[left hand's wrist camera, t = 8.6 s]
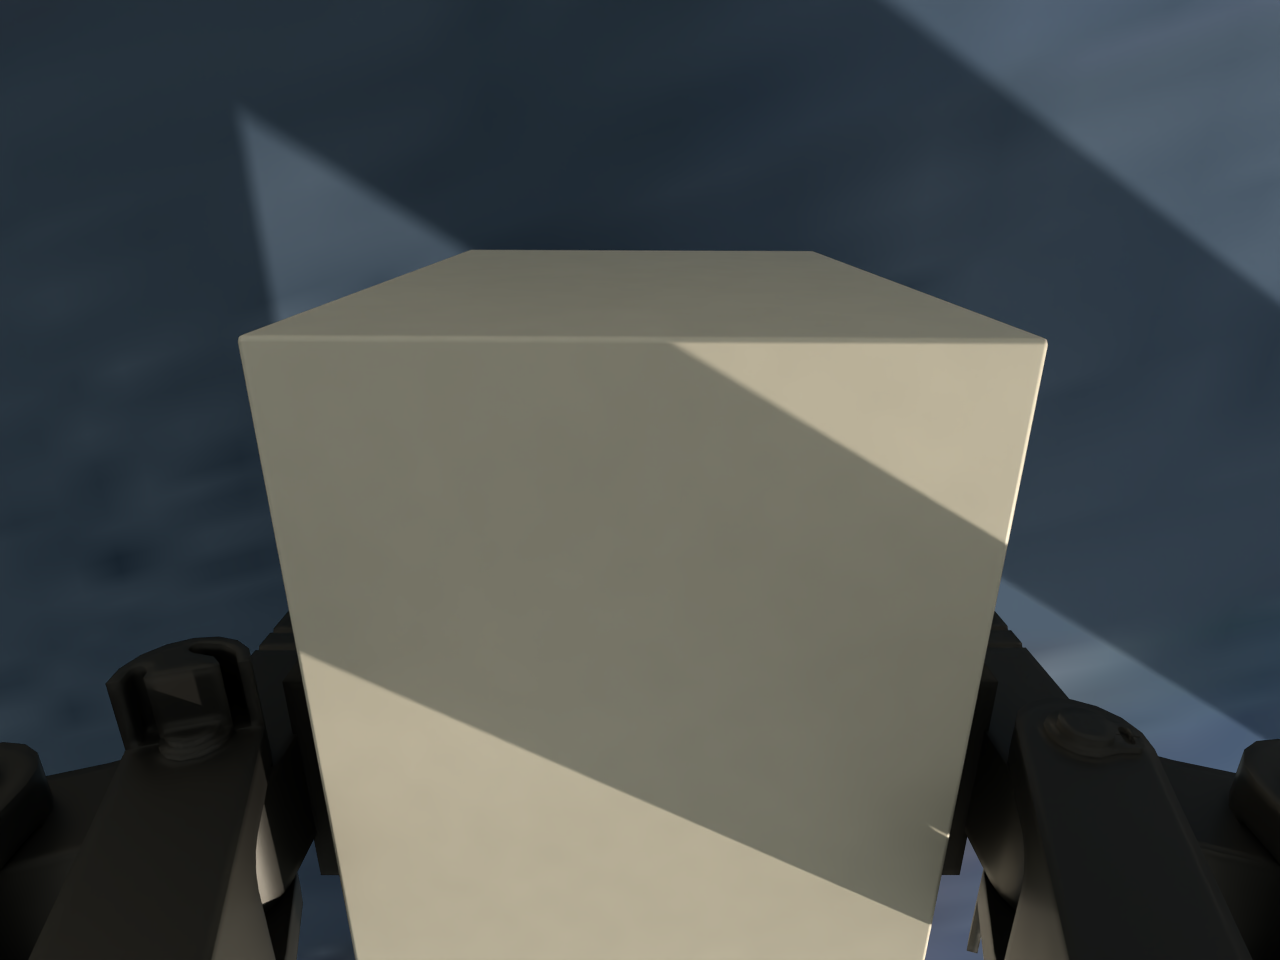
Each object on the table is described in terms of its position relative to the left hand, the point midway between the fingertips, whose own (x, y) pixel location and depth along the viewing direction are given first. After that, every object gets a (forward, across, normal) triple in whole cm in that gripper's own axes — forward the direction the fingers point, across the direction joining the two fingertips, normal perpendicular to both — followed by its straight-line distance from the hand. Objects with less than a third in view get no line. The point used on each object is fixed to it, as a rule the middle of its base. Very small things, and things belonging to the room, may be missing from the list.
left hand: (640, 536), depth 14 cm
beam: (+1, 0, -27) cm, 27 cm away
